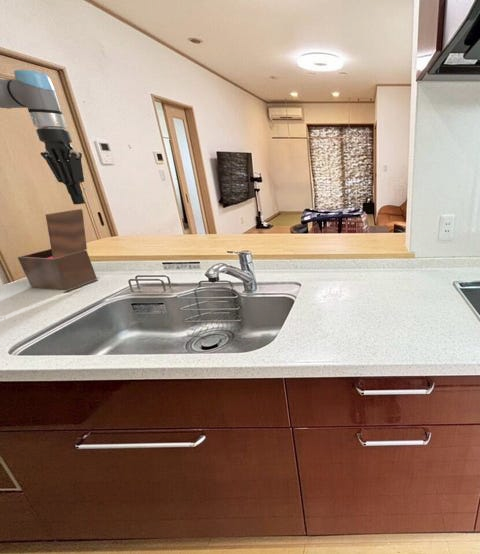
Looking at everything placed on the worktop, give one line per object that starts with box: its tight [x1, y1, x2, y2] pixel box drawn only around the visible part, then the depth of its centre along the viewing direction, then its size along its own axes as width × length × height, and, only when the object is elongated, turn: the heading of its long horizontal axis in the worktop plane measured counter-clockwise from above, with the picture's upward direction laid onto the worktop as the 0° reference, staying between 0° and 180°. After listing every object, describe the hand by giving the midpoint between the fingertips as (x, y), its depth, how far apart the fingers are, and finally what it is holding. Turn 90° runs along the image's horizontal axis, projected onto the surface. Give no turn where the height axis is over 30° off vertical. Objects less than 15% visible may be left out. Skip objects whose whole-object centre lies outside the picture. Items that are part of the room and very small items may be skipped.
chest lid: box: [45, 208, 88, 258], centre depth 108 cm, size 16×12×1 cm
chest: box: [17, 248, 99, 293], centre depth 115 cm, size 16×12×13 cm
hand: (79, 203), depth 103 cm, fingers closed
